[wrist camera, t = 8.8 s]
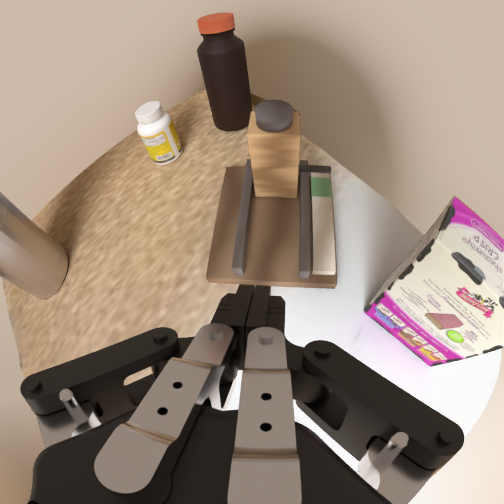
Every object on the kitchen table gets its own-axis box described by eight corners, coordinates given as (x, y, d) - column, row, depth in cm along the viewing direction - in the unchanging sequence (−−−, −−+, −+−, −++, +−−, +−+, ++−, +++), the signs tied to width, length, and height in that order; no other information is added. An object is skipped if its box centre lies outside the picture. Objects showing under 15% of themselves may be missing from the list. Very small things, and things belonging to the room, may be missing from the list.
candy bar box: (448, 332, 25) (546, 284, 10) (429, 367, 23) (535, 341, 9) (383, 278, 29) (455, 190, 14) (360, 311, 27) (435, 238, 13)
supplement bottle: (168, 140, 43) (150, 95, 34) (189, 148, 41) (173, 100, 32) (146, 160, 41) (123, 116, 32) (166, 170, 39) (144, 122, 31)
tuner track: (209, 281, 31) (201, 270, 27) (228, 174, 37) (224, 157, 34) (334, 288, 29) (340, 277, 26) (328, 177, 36) (331, 159, 33)
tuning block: (255, 196, 33) (245, 121, 23) (258, 172, 35) (249, 99, 24) (328, 199, 32) (343, 124, 22) (326, 175, 34) (337, 102, 23)
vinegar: (226, 108, 45) (207, 12, 27) (259, 113, 44) (248, 10, 26) (207, 129, 43) (180, 25, 25) (242, 135, 41) (224, 21, 23)
